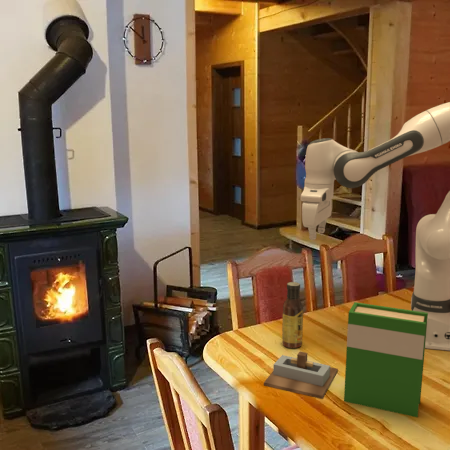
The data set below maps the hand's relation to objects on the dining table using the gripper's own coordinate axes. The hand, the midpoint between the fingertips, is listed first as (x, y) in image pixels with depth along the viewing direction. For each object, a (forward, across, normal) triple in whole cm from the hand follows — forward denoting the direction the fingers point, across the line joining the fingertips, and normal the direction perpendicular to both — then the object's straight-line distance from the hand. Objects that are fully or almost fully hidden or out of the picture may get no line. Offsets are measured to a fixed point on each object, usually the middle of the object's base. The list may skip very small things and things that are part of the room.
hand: (317, 235), depth 169 cm
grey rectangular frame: (+32, +29, +5) cm, 44 cm away
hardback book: (+33, +32, +27) cm, 54 cm away
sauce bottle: (+33, +10, -4) cm, 35 cm away
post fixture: (+33, +29, +5) cm, 44 cm away
